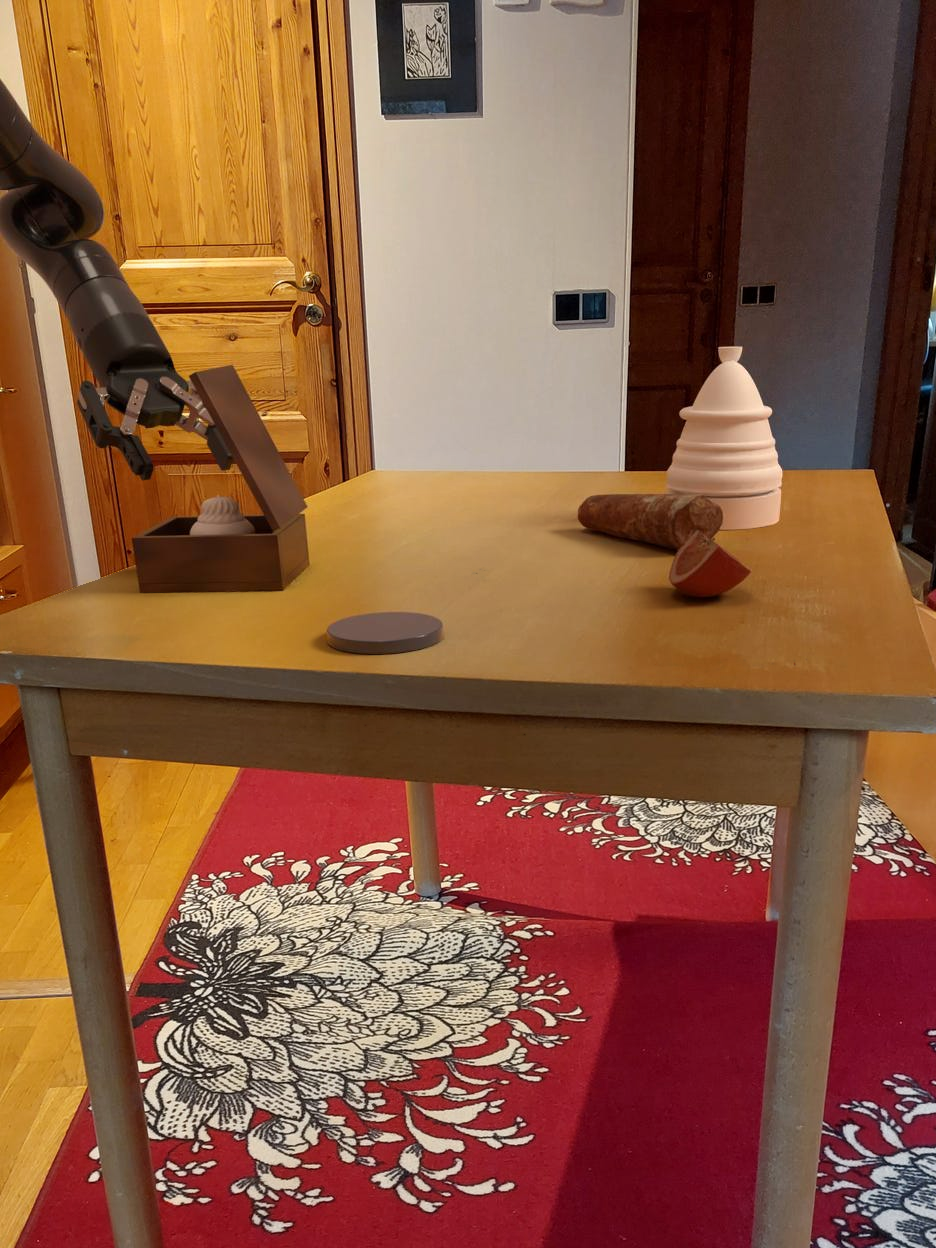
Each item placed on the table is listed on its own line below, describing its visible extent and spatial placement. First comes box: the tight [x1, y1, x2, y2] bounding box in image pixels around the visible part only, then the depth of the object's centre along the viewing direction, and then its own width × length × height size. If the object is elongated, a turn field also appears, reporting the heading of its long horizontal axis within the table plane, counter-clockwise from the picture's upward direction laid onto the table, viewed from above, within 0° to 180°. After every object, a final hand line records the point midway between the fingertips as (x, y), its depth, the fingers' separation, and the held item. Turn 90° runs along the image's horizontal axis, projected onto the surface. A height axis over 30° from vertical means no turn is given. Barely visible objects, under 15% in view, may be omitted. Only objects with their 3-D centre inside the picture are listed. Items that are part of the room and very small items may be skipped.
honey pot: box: [664, 346, 783, 531], centre depth 129 cm, size 13×13×18 cm
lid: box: [188, 364, 308, 532], centre depth 108 cm, size 14×12×1 cm
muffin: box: [190, 494, 255, 535], centre depth 112 cm, size 6×6×7 cm
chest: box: [131, 513, 311, 593], centre depth 112 cm, size 14×12×5 cm
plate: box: [326, 611, 444, 655], centre depth 91 cm, size 9×9×1 cm
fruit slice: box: [668, 530, 752, 598], centre depth 99 cm, size 8×7×5 cm
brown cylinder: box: [576, 493, 723, 551], centre depth 123 cm, size 6×19×6 cm, turn 31°
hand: (189, 469), depth 113 cm, fingers open, 8 cm apart
